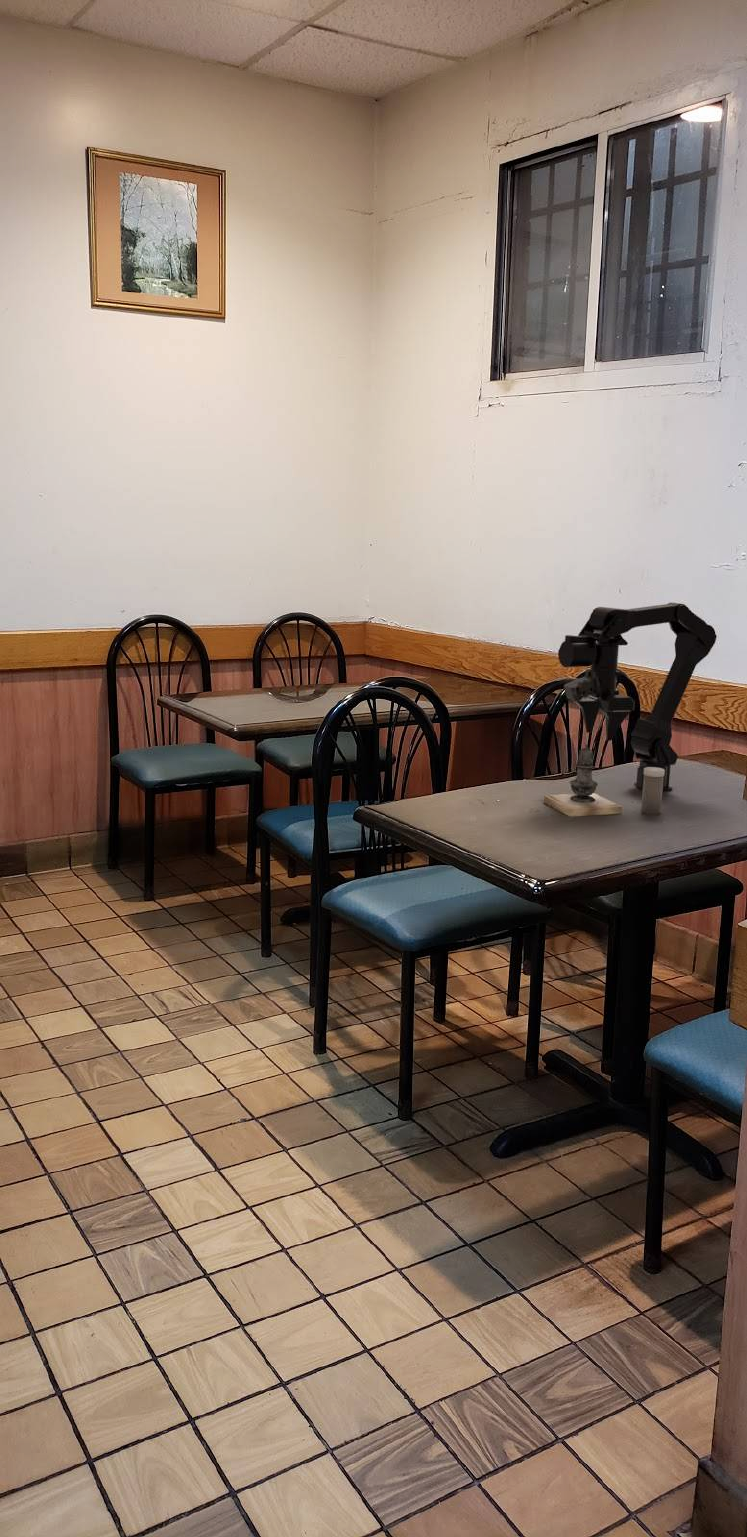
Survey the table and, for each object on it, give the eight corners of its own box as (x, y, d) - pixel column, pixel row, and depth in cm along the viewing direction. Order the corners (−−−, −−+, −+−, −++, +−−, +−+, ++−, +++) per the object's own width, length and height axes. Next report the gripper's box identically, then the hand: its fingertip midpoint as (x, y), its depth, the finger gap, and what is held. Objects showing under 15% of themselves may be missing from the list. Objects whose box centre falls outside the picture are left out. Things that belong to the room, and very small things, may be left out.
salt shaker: (598, 803, 248) (602, 747, 245) (570, 802, 248) (574, 746, 245) (594, 796, 254) (598, 741, 251) (566, 795, 254) (570, 740, 251)
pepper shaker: (654, 808, 252) (657, 766, 250) (664, 813, 248) (668, 771, 246) (636, 809, 251) (640, 767, 249) (647, 814, 247) (650, 771, 245)
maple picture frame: (593, 799, 258) (594, 791, 258) (621, 813, 247) (622, 805, 247) (543, 802, 255) (544, 794, 254) (569, 816, 244) (570, 808, 243)
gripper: (551, 660, 264) (546, 729, 267) (591, 672, 247) (586, 746, 250) (595, 660, 267) (591, 728, 271) (638, 671, 250) (632, 744, 253)
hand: (598, 736), depth 261 cm, fingers open, 9 cm apart
